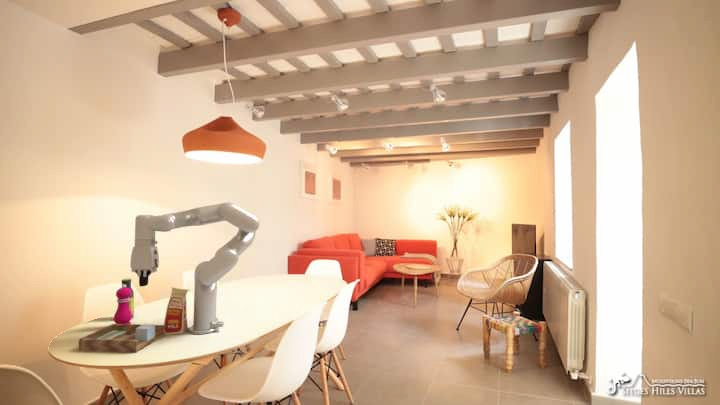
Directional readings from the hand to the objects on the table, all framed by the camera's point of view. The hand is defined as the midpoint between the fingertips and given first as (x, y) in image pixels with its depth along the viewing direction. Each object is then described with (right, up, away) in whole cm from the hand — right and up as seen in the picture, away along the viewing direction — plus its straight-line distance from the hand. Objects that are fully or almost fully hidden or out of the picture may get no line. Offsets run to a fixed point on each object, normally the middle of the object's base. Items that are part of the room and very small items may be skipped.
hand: (143, 285), depth 147 cm
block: (+4, -21, -6) cm, 22 cm away
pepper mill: (-18, -23, +12) cm, 31 cm away
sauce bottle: (-24, -23, +24) cm, 41 cm away
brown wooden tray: (-4, -23, -6) cm, 24 cm away
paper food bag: (+9, -23, +10) cm, 27 cm away
